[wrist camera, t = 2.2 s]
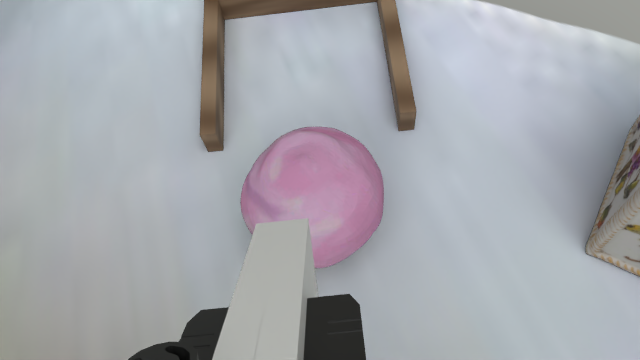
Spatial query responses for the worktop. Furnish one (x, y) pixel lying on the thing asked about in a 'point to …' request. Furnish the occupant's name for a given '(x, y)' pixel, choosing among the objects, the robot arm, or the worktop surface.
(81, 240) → the worktop surface
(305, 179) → the cupcake
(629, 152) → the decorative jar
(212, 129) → the wooden flag stand
